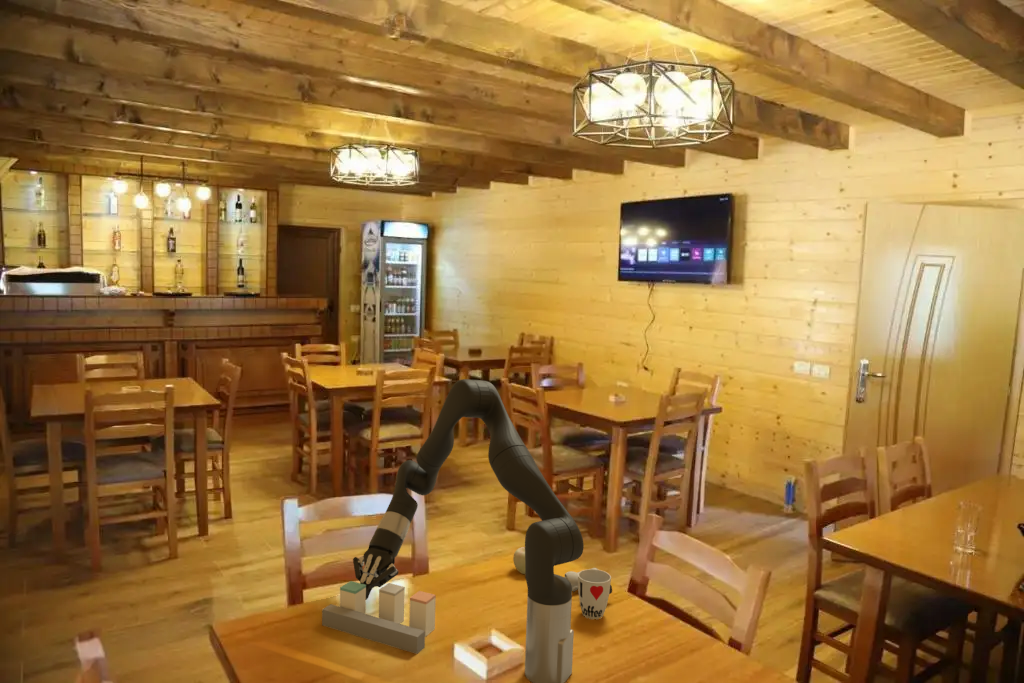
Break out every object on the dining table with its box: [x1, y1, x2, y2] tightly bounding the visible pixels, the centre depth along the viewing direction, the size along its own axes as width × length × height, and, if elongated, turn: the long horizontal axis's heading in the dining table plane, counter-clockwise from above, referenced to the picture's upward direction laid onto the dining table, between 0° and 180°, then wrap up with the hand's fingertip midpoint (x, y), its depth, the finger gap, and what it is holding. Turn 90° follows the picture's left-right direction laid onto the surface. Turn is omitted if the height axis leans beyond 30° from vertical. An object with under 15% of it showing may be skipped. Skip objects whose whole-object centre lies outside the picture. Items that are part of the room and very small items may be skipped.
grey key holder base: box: [321, 603, 426, 655], centre depth 165 cm, size 26×16×5 cm, turn 65°
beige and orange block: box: [408, 590, 437, 638], centre depth 162 cm, size 4×4×8 cm
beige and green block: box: [339, 580, 367, 614], centre depth 166 cm, size 4×4×8 cm
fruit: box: [512, 546, 525, 575], centre depth 199 cm, size 8×7×8 cm
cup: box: [577, 568, 612, 620], centre depth 175 cm, size 8×8×10 cm
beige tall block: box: [378, 582, 406, 624], centre depth 166 cm, size 4×4×8 cm
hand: (359, 600), depth 168 cm, fingers closed
